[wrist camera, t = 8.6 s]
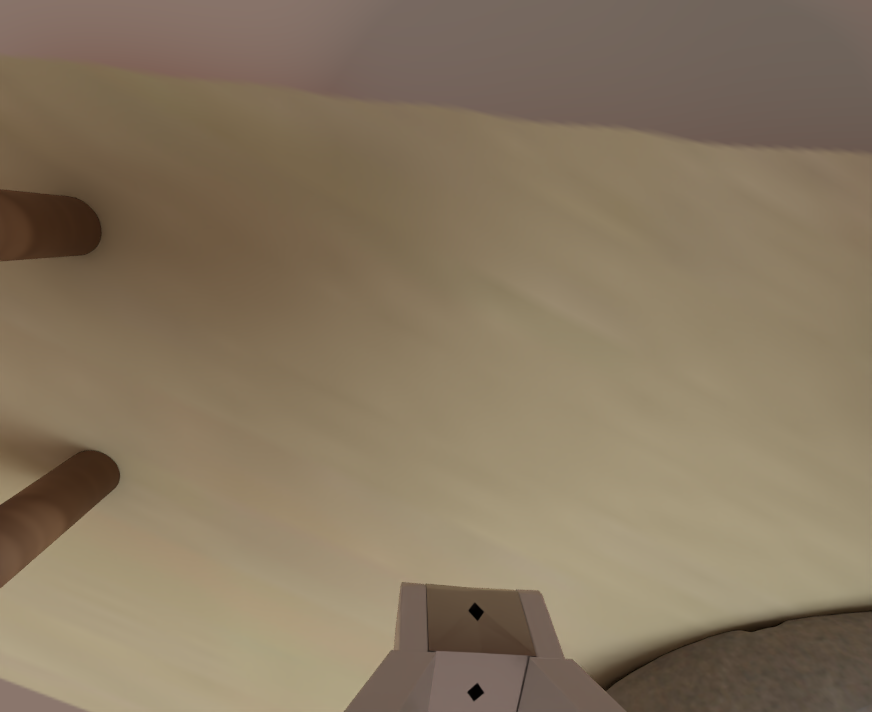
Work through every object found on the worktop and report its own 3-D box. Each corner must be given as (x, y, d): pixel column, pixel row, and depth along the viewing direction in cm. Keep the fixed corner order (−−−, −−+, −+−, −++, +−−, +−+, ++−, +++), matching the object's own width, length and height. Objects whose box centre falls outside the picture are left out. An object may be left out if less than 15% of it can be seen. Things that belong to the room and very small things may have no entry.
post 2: (118, 452, 24) (-23, 559, 16) (121, 496, 24) (-13, 619, 17) (65, 448, 23) (-104, 555, 16) (70, 493, 24) (-90, 616, 16)
